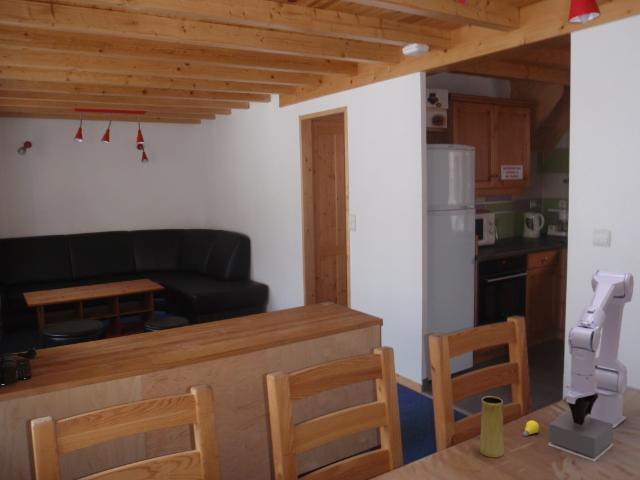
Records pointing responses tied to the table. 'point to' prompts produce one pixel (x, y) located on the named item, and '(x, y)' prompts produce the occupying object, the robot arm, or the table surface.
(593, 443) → the cover
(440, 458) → the table surface
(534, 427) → the light bulb
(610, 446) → the mat
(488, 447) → the vase
